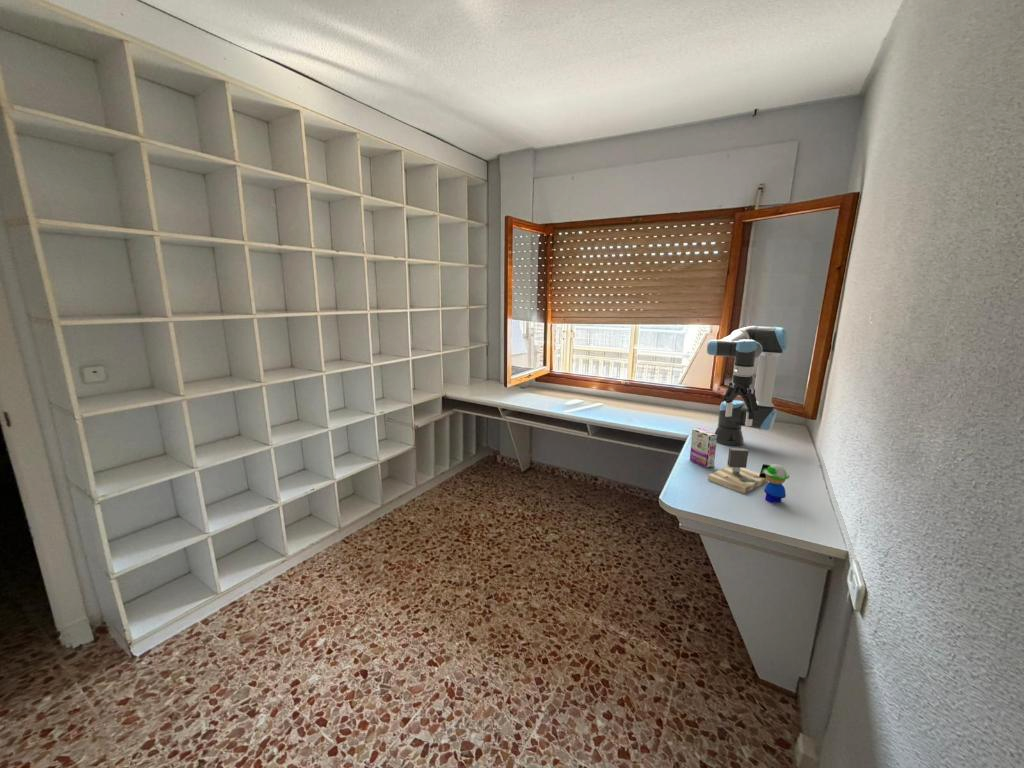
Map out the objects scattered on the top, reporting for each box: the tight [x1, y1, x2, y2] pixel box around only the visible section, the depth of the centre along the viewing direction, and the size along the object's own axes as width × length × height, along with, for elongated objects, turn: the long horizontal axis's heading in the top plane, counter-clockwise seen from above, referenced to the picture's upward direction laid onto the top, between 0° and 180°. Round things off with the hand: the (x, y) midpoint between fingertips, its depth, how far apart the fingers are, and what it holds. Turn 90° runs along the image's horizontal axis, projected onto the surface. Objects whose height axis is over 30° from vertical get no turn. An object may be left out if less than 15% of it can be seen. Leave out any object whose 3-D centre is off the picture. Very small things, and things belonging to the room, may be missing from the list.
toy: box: [759, 463, 790, 504], centre depth 164 cm, size 9×9×15 cm
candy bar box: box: [689, 427, 717, 469], centre depth 199 cm, size 11×5×16 cm, turn 21°
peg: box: [726, 447, 749, 481], centre depth 179 cm, size 11×7×11 cm, turn 171°
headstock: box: [707, 465, 769, 494], centre depth 182 cm, size 20×16×3 cm
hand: (738, 420), depth 186 cm, fingers open, 13 cm apart
